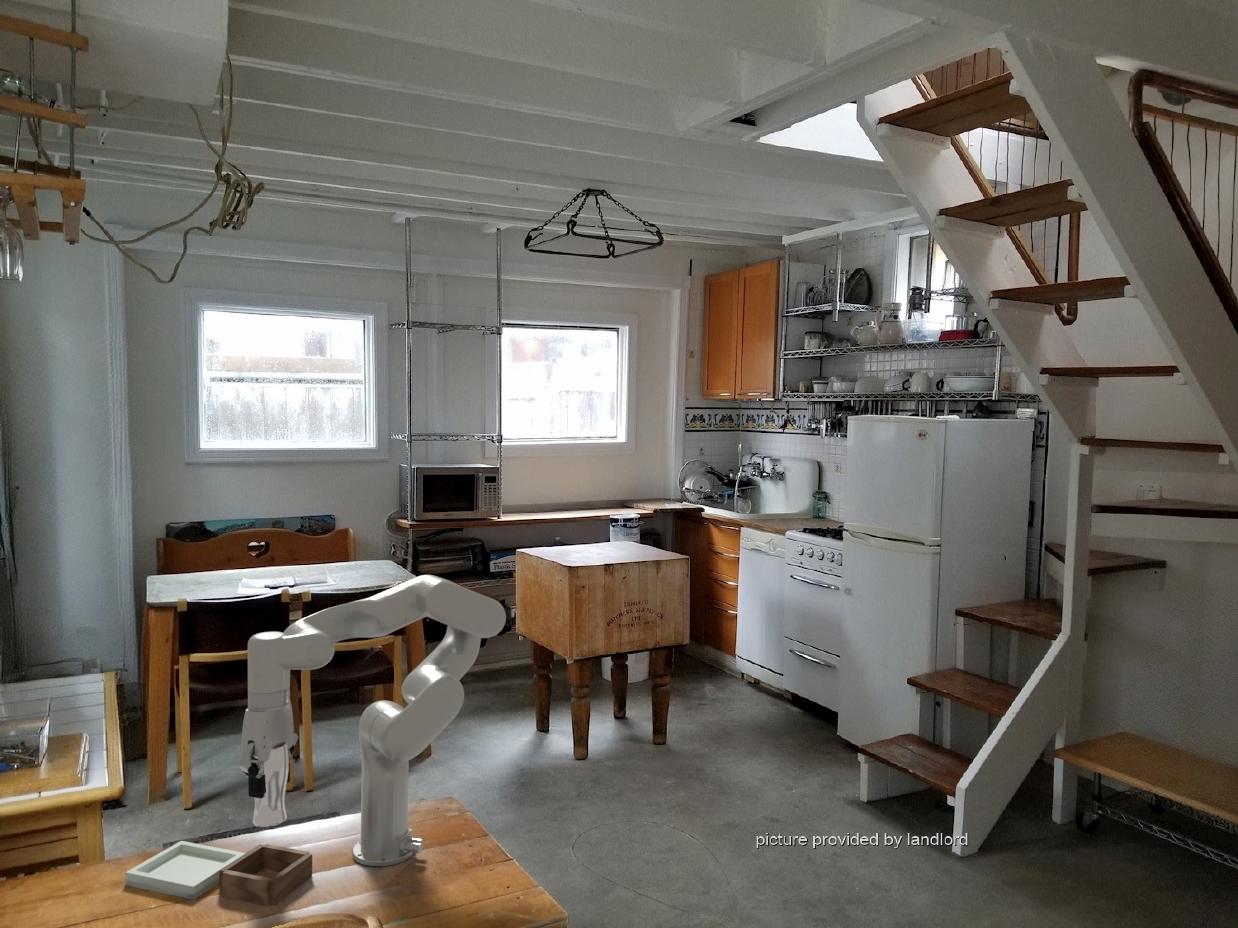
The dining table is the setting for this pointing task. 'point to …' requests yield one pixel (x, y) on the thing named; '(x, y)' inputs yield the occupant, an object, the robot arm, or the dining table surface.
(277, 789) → the beer glass
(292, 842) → the dining table surface
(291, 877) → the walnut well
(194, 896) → the sage tray
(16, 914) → the dining table surface
